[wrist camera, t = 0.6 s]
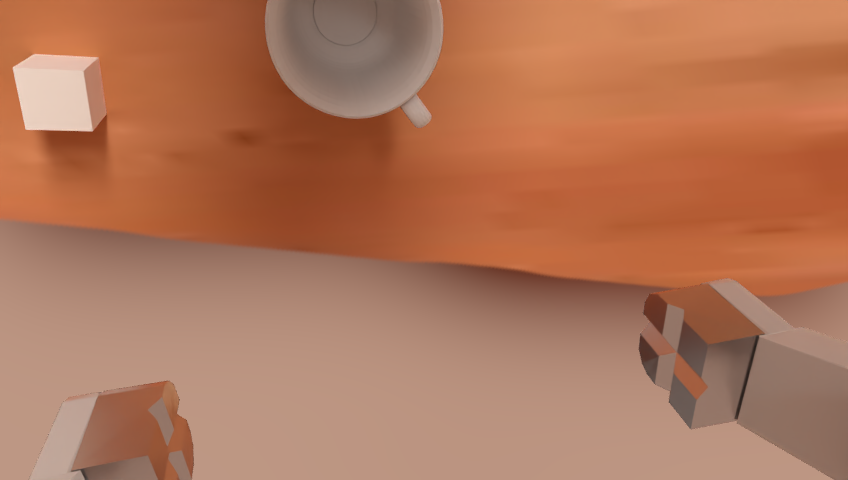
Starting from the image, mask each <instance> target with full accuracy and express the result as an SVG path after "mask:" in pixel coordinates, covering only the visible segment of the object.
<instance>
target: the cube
mask: <svg viewBox="0 0 848 480" xmlns="http://www.w3.org/2000/svg"><path fill="white" fill-rule="evenodd" d="M13 71H14V76H15V81H16V86H17V91H18V95H19V100H20V105H21V110H22V114H23V119H24V124H25V129H26V130H60V131H94V129H95V128H96V127H97V126H98V124H99V123H100V122H101V121H102V119H103V118H104V117H105V116H106V114H107V112H106V105H105V98H104V91H103V84H102V77H101V70H100V63H99V57H80V56H61V55H42V54H33V55H32V56H30V57H29V58H27V59H26V60H24V61H22V62H21V63H19V64H18V65H16V66H14V67H13Z"/></svg>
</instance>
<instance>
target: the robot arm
mask: <svg viewBox="0 0 848 480" xmlns="http://www.w3.org/2000/svg"><path fill="white" fill-rule="evenodd" d="M643 314H644V315H645V316H646V318H647V319H648V320H649V323H648V325H647V326H646V327H645V329H644V330H643V331H642V332H641V333H640V343H639V352H640V356H641V361H642V364H643V366H644V369H645V371H646V373H647V375H648V376H649V377H650V378H651V380H652V381H653V382H654V384H655V385H658V386H660V387H662V388H664V389H666V390H668V391H670V395H669V403H670V404H671V405H672V407H673V408H674V409H675V410H676V412H677V413H678V414H679V415H680V417H681V418H682V419H683V420H684V422H685V423H686V424H687V425H688V427H689V428H690V429H695V428H700V427H706V426H711V425H716V424H722V423H727V422H732V421H737V423H738V424H740V425H741V426H743V427H744V428H746V429H748V430H750V431H751V432H753V433H755V434H757V435H758V436H760V437H762V438H764V439H765V440H767V441H769V442H770V443H772V444H774V445H775V446H777V447H779V448H781V449H782V450H784V451H786V452H787V453H789V454H791V455H793V456H795V457H796V458H798V459H800V460H801V461H803V462H805V463H806V464H808V465H810V466H812V467H814V468H815V469H817V470H818V471H820V472H822V473H824V474H825V475H827V476H829V477H831V478H832V479H834V480H848V342H846V341H843V340H840V339H837V338H834V337H831V336H828V335H825V334H822V333H819V332H816V331H813V330H810V329H807V328H804V327H802V328H797V329H795V328H793V327H792V326H791V325H790V324H789V323H787V322H786V321H784V319H782V318H781V317H780V316H779V315H778V314H776V313H775V312H774V311H773V310H771V309H770V308H769V307H768V306H766V305H765V304H764V303H763V302H761V301H760V300H759V299H758V298H756V297H755V296H754V295H753V294H752V293H750V292H749V291H748V290H747V289H745V288H744V287H743V286H742V285H740V284H739V283H738V282H737V281H735V280H732V279H728V278H725V279H720V280H716V281H711V282H706V283H701V284H700V285H695V286H690V287H684V288H679V289H674V290H668V291H663V292H657V293H652V294H649V295H648V297H647V299H646V301H645V304H644V311H643ZM179 400H180V399H179V397H178V394H177V391H176V390H175V386H174V384H173V383H172V382H170V381H164V382H157V383H151V384H144V385H138V386H132V387H126V388H119V389H114V390H107V391H103V392H97V393H90V394H85V395H79V396H73V397H69V398H68V399H66V400H65V401H64V402H63V403H62V404H61V407H60V409H59V411H58V414H57V416H56V418H55V420H54V423H53V425H52V427H51V430H50V432H49V434H48V436H47V439H46V441H45V443H44V446H43V448H42V450H41V453H40V455H39V457H38V460H37V462H36V464H35V466H34V468H33V471H32V473H31V475H30V477H29V480H192V473H193V466H194V457H193V442H192V437H191V432H190V429H189V426H188V423H187V420H186V419H184V418H182V417H181V416H179V415H178V414H177V410H178V405H179Z"/></svg>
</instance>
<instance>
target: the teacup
mask: <svg viewBox="0 0 848 480" xmlns="http://www.w3.org/2000/svg"><path fill="white" fill-rule="evenodd" d="M265 34H266V40H267V46H268V49H269V53H270V56H271V59H272V61H273V64H274V66H275V68H276V70H277V72H278V73H279V75H280V77H281V79H282V80H283V81H284V83H285V84H286V85H287V87H288V88H289V89H290V90H291V91H292V92H293V93H294V94H295V95H296V96H297V97H299V98H300V99H301V100H303V101H304V102H305V103H307V104H309V105H310V106H312V107H314V108H315V109H317V110H320V111H322V112H324V113H327V114H330V115H334V116H337V117H343V118H353V119H361V118H370V117H375V116H379V115H382V114H385V113H387V112H390V111H392V110H394V109H396V108H398V107H399V106H400V107H401V108H402V110H403V111H404V113H405V114H406V115H407V117H408V118H409V119H410V121H411V122H412V123H413V124H414V125H415V127H417V128H422V127H424V126H425V125H427V124H428V123H429V122H430V120H431V118H432V116H431V114H430V112H429V111H428V110H427V108H426V107H425V105H424V104H423V103H422V101H421V100H420V99H419V97H418V96H417V94H416V93H417V92H418V91H419V90H420V89H421V88H422V87H423V86H424V84H425V83H426V81H427V80H428V79H429V77H430V76H431V74H432V72H433V70H434V68H435V66H436V63H437V61H438V58H439V55H440V51H441V47H442V40H443V15H442V8H441V4H440V0H268V1H267V5H266V13H265Z"/></svg>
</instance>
